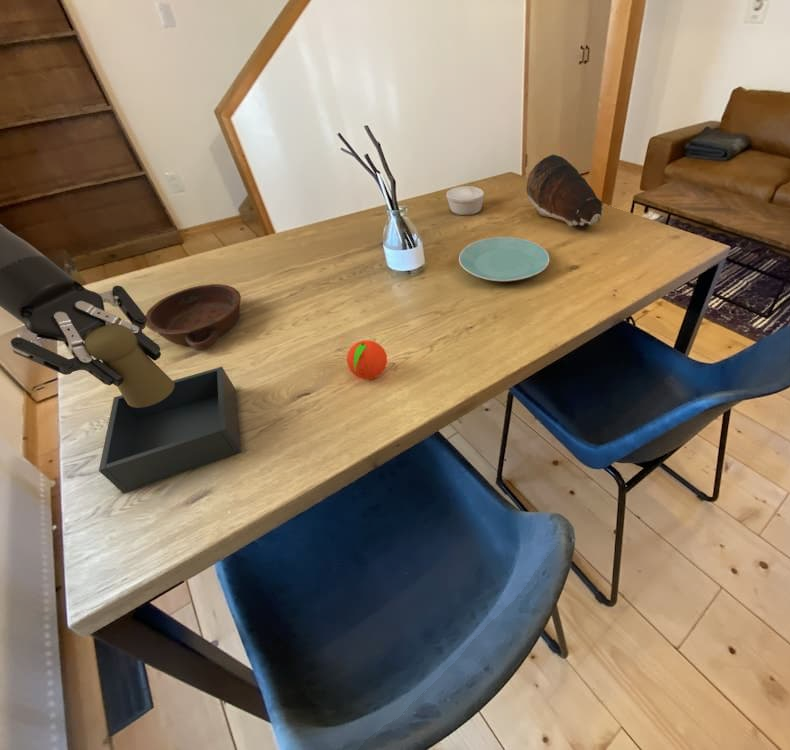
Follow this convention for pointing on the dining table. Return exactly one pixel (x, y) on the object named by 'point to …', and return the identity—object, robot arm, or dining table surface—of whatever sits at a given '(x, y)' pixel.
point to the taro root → (562, 192)
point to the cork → (129, 365)
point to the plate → (504, 259)
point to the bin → (172, 432)
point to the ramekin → (465, 200)
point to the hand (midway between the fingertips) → (139, 369)
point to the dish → (196, 315)
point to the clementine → (366, 359)
